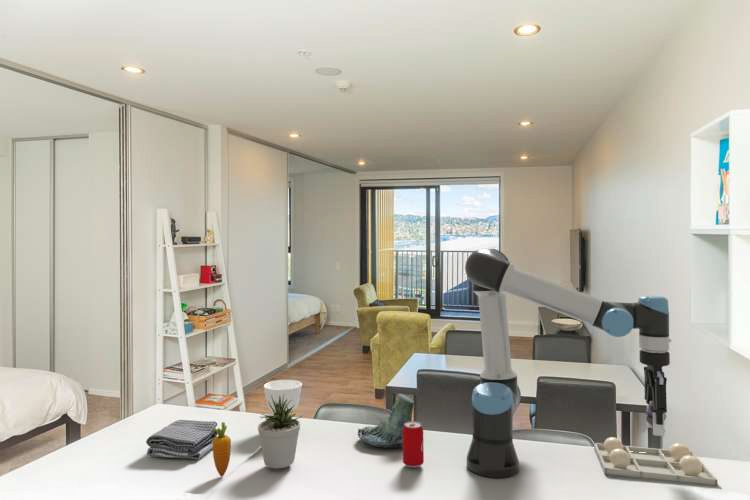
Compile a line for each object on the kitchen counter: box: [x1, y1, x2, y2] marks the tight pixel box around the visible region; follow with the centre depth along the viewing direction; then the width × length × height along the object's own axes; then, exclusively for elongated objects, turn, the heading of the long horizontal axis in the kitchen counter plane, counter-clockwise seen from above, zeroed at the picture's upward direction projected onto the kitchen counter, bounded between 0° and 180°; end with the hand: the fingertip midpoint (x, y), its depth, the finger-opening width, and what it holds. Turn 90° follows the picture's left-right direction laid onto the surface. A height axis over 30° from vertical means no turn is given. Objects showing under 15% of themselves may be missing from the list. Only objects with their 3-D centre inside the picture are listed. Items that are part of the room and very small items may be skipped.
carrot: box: [212, 422, 232, 478], centre depth 140 cm, size 5×5×15 cm
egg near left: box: [610, 449, 630, 469], centre depth 143 cm, size 5×5×5 cm
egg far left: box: [603, 436, 624, 454], centre depth 152 cm, size 5×5×5 cm
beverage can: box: [402, 420, 425, 468], centre depth 147 cm, size 6×6×12 cm
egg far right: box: [668, 442, 691, 462], centre depth 147 cm, size 5×5×5 cm
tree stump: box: [357, 393, 415, 449], centre depth 168 cm, size 18×20×18 cm
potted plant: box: [257, 393, 304, 469], centre depth 149 cm, size 13×14×20 cm
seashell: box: [645, 401, 667, 433], centre depth 141 cm, size 5×5×10 cm
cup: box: [263, 379, 303, 416], centre depth 177 cm, size 14×14×16 cm
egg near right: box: [679, 455, 702, 476], centre depth 138 cm, size 5×5×5 cm
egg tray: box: [593, 442, 718, 487], centre depth 145 cm, size 28×19×2 cm
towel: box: [145, 419, 218, 461], centre depth 159 cm, size 15×18×8 cm
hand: (655, 431), depth 141 cm, fingers closed on seashell, 5 cm apart
